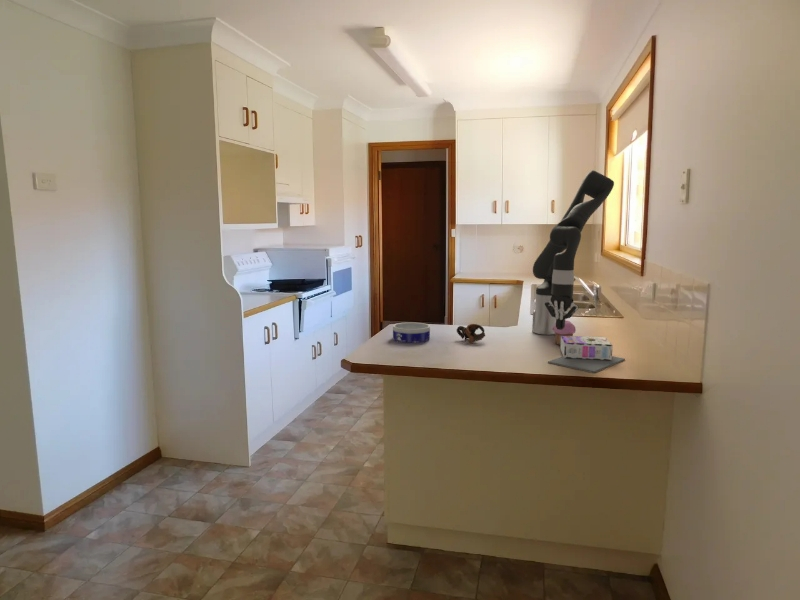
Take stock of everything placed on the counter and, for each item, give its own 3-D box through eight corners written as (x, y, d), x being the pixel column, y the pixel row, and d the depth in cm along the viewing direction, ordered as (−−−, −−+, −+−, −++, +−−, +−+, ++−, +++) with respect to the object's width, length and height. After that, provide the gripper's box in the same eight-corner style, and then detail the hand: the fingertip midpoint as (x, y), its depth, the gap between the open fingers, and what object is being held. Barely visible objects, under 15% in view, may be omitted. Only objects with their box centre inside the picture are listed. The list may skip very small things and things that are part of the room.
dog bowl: (386, 341, 224) (386, 326, 224) (403, 334, 238) (403, 320, 237) (419, 345, 217) (420, 330, 217) (435, 338, 231) (435, 324, 230)
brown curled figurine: (484, 340, 230) (488, 325, 224) (479, 354, 222) (483, 339, 217) (457, 331, 232) (460, 316, 227) (450, 345, 225) (454, 330, 220)
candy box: (563, 358, 197) (612, 360, 194) (564, 342, 196) (613, 344, 193) (560, 350, 210) (605, 352, 207) (560, 335, 209) (606, 336, 206)
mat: (548, 363, 193) (548, 361, 192) (580, 351, 209) (580, 350, 209) (594, 372, 181) (594, 371, 181) (624, 360, 198) (624, 358, 198)
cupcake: (568, 342, 226) (569, 318, 224) (578, 346, 217) (580, 322, 216) (547, 342, 224) (549, 318, 223) (557, 347, 216) (558, 322, 214)
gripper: (541, 281, 201) (538, 328, 203) (574, 284, 191) (571, 333, 194) (551, 279, 206) (549, 325, 208) (584, 283, 197) (581, 330, 199)
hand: (560, 329), depth 201 cm, fingers closed
